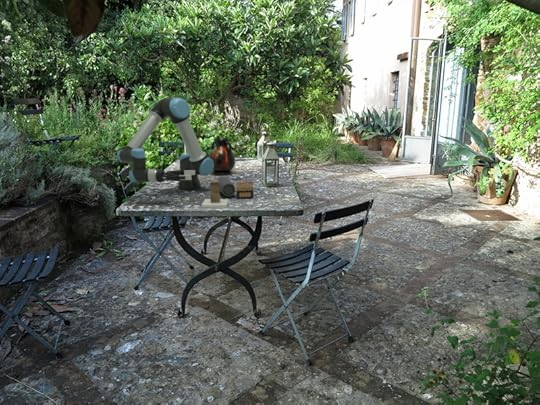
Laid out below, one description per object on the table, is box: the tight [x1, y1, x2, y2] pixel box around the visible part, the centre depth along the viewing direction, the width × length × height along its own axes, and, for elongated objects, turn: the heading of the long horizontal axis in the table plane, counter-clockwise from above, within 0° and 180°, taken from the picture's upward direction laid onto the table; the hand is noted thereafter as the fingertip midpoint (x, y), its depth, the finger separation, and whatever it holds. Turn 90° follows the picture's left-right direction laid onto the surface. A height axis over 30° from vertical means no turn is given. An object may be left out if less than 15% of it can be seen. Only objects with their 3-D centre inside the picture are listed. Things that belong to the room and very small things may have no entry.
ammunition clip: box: [235, 179, 255, 200], centre depth 280 cm, size 11×2×12 cm, turn 100°
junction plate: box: [201, 198, 230, 209], centre depth 266 cm, size 14×14×2 cm
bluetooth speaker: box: [216, 176, 236, 197], centre depth 291 cm, size 23×9×10 cm, turn 15°
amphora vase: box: [208, 137, 236, 176], centre depth 359 cm, size 22×22×28 cm
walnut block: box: [209, 180, 221, 203], centre depth 265 cm, size 4×5×12 cm
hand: (193, 174), depth 265 cm, fingers open, 13 cm apart
